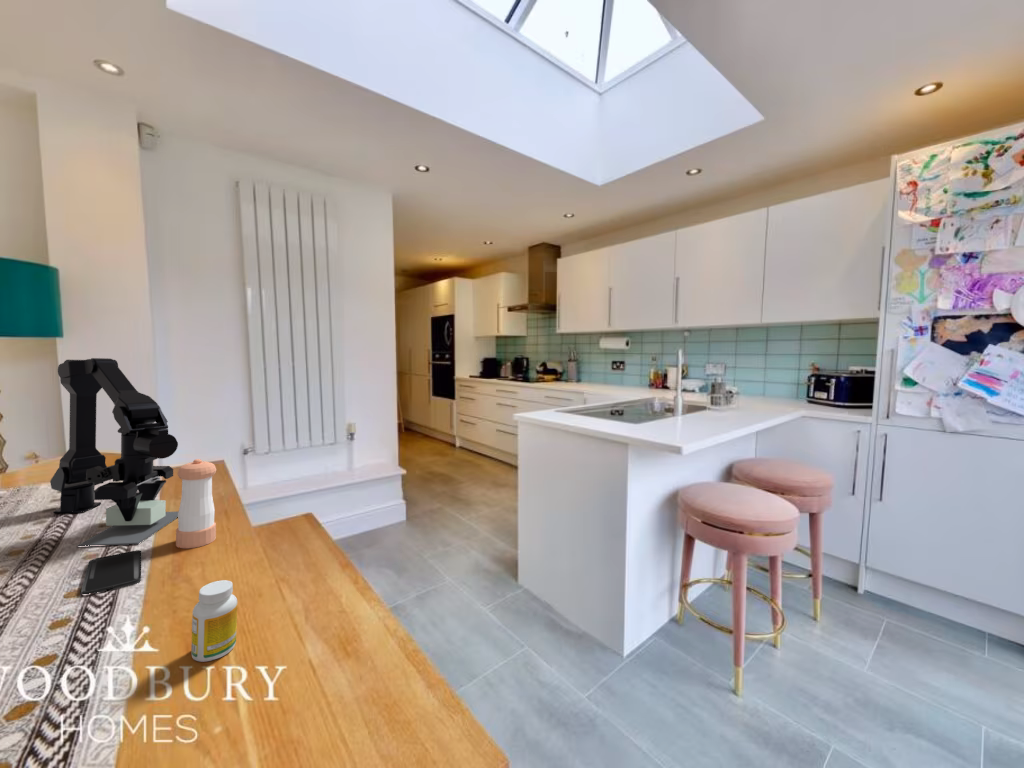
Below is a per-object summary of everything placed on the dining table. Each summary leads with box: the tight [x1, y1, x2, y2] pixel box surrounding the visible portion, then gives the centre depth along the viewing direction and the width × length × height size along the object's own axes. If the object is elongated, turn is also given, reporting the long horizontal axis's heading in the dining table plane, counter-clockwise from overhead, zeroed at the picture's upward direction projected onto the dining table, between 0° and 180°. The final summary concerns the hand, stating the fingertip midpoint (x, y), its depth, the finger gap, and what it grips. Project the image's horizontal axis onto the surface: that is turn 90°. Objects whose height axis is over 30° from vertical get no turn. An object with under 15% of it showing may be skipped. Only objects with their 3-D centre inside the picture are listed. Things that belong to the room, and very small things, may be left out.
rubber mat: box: [77, 510, 179, 546], centre depth 98 cm, size 19×11×1 cm, turn 14°
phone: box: [80, 549, 142, 594], centre depth 78 cm, size 8×1×15 cm
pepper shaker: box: [175, 458, 217, 549], centre depth 92 cm, size 7×7×19 cm
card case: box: [105, 499, 167, 527], centre depth 97 cm, size 9×6×4 cm, turn 101°
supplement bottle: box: [190, 579, 238, 663], centre depth 60 cm, size 5×5×10 cm
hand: (136, 516), depth 98 cm, fingers closed on card case, 6 cm apart
